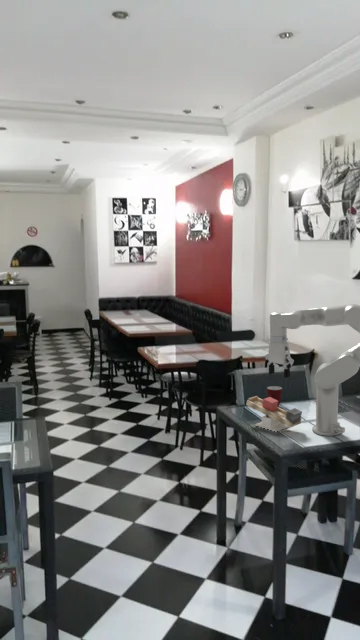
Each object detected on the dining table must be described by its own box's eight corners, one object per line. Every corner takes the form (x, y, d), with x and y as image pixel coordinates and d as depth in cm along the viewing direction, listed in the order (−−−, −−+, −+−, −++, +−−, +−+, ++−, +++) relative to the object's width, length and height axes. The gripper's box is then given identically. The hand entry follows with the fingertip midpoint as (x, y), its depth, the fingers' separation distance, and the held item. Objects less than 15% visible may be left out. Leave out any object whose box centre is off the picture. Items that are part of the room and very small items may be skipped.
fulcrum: (289, 426, 242) (290, 415, 241) (276, 432, 234) (276, 420, 234) (269, 420, 251) (269, 410, 250) (255, 426, 243) (255, 415, 242)
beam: (301, 424, 236) (303, 410, 234) (289, 429, 230) (292, 415, 228) (256, 402, 254) (259, 389, 252) (245, 406, 247) (247, 393, 246)
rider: (276, 410, 243) (278, 400, 242) (270, 412, 240) (272, 403, 238) (268, 406, 246) (269, 396, 245) (261, 408, 243) (263, 399, 242)
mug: (278, 410, 267) (278, 391, 266) (263, 408, 270) (263, 390, 269) (283, 405, 276) (283, 386, 275) (269, 403, 280) (269, 385, 278)
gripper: (298, 340, 232) (299, 377, 234) (270, 336, 246) (271, 371, 248) (286, 342, 228) (287, 379, 230) (259, 338, 242) (260, 373, 244)
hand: (279, 375), depth 239 cm, fingers open, 9 cm apart
